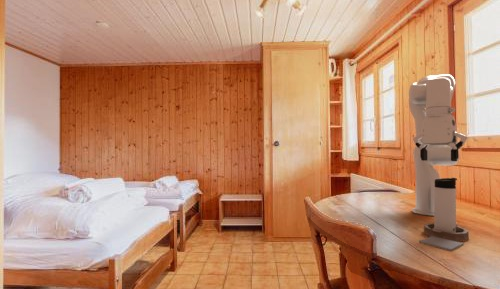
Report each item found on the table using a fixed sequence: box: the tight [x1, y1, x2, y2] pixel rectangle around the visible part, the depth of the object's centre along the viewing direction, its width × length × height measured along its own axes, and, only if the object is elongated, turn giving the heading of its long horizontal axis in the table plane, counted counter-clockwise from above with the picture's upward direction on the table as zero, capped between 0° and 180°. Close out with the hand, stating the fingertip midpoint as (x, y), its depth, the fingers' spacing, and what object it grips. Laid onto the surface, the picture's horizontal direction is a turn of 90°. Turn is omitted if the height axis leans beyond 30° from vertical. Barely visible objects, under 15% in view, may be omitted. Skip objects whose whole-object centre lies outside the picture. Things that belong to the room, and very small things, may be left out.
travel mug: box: [433, 177, 458, 233], centre depth 100 cm, size 6×7×20 cm
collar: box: [423, 222, 470, 242], centre depth 100 cm, size 14×12×3 cm
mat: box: [418, 236, 464, 252], centre depth 92 cm, size 9×9×1 cm
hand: (438, 160), depth 103 cm, fingers open, 9 cm apart
